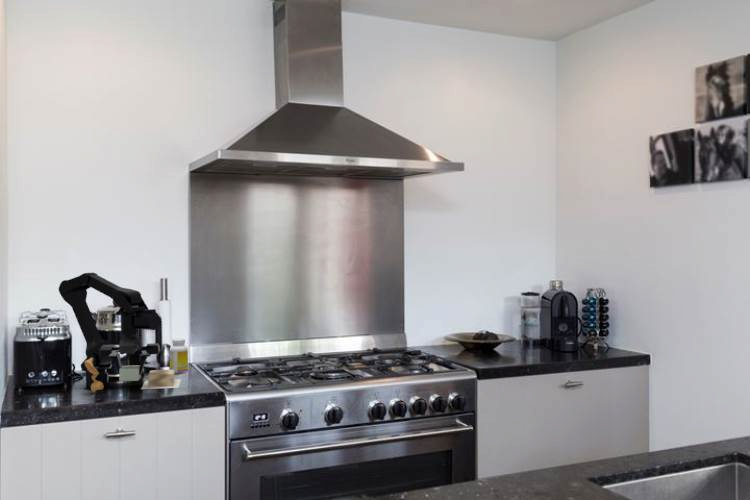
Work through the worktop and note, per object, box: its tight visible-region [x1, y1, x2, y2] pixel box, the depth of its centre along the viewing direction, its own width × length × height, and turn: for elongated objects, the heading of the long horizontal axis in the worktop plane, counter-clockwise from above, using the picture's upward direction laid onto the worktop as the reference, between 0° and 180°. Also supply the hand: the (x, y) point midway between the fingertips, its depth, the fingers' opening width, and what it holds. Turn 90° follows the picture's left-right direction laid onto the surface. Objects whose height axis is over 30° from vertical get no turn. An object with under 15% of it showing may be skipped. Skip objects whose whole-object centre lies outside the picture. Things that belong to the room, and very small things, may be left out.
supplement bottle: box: [169, 338, 189, 374], centre depth 271 cm, size 7×7×13 cm
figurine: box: [85, 358, 105, 393], centre depth 237 cm, size 8×6×12 cm
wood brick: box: [147, 369, 176, 387], centre depth 245 cm, size 8×8×4 cm
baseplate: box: [140, 378, 182, 390], centre depth 245 cm, size 12×14×2 cm
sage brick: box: [118, 364, 142, 382], centre depth 241 cm, size 6×6×4 cm
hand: (130, 375), depth 241 cm, fingers closed on sage brick, 6 cm apart
